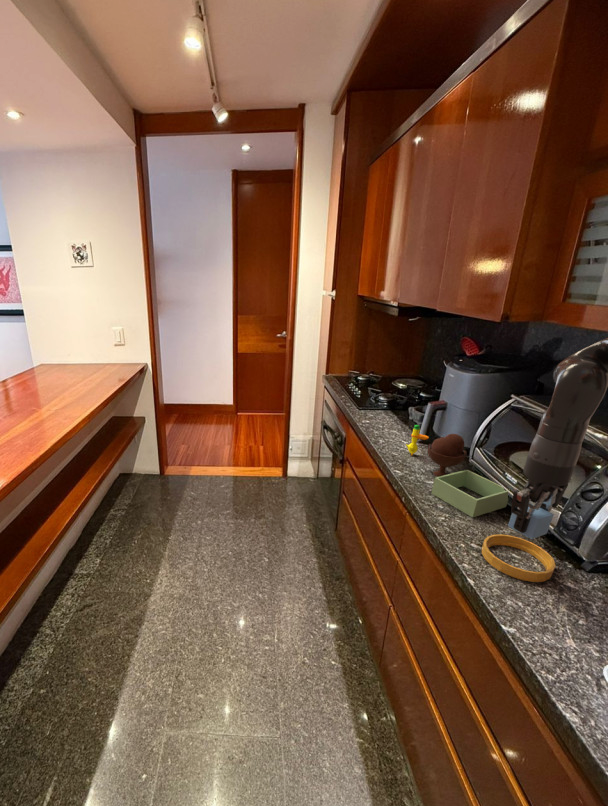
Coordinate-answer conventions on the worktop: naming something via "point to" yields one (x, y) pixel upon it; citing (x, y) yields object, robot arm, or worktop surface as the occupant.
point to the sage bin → (471, 506)
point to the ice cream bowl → (447, 452)
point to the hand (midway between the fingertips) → (528, 527)
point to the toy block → (535, 523)
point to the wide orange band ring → (524, 546)
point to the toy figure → (415, 439)
